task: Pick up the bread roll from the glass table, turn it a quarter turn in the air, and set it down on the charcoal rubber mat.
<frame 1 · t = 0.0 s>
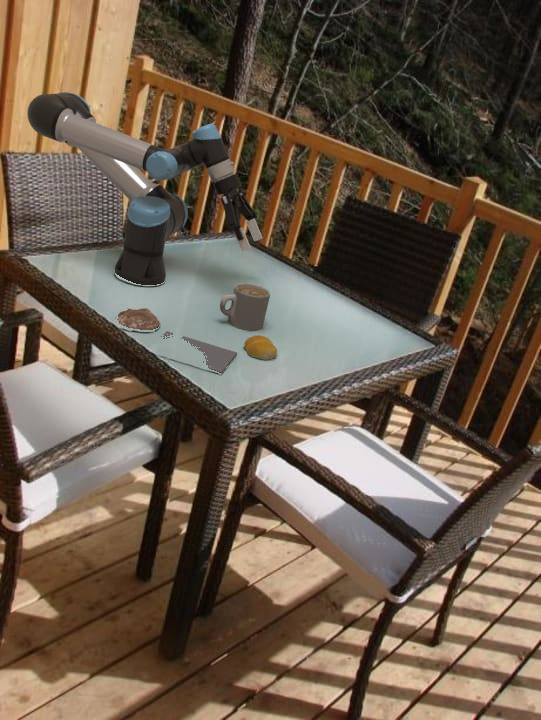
hand: (252, 244, 216), 15 cm above the table, tool tilted 35°, fingers open, 13 cm apart
coffee mug: (239, 323, 200), on the table
mat: (192, 353, 175), on the table
bread roll: (259, 353, 185), on the table
shell: (136, 325, 185), on the table
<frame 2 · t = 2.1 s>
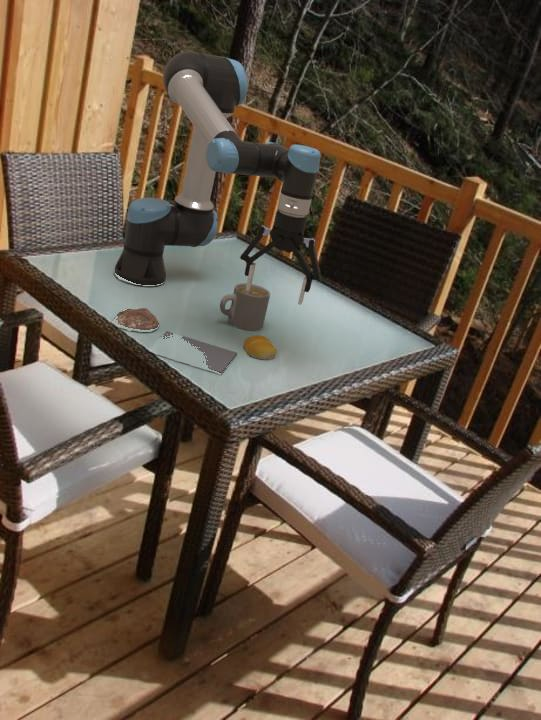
hand: (274, 295, 179), 15 cm above the table, tool pointing down, fingers open, 13 cm apart
nothing on the table moved.
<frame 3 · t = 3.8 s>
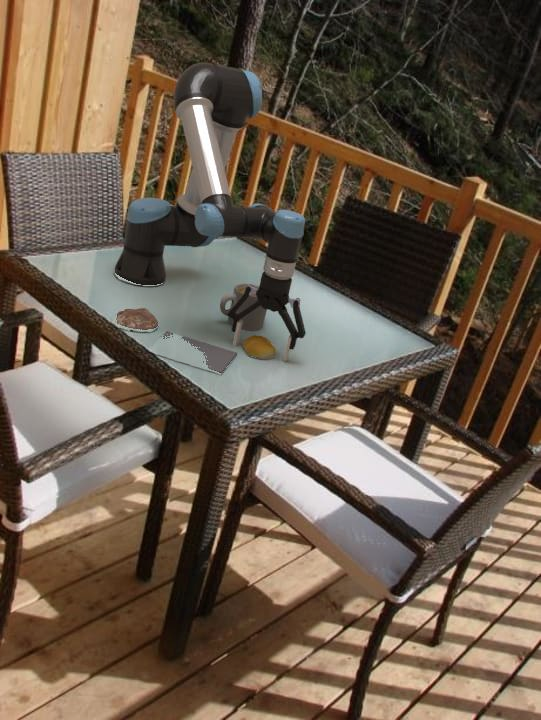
hand: (260, 351, 185), 0 cm above the table, tool pointing down, fingers open, 13 cm apart
nothing on the table moved.
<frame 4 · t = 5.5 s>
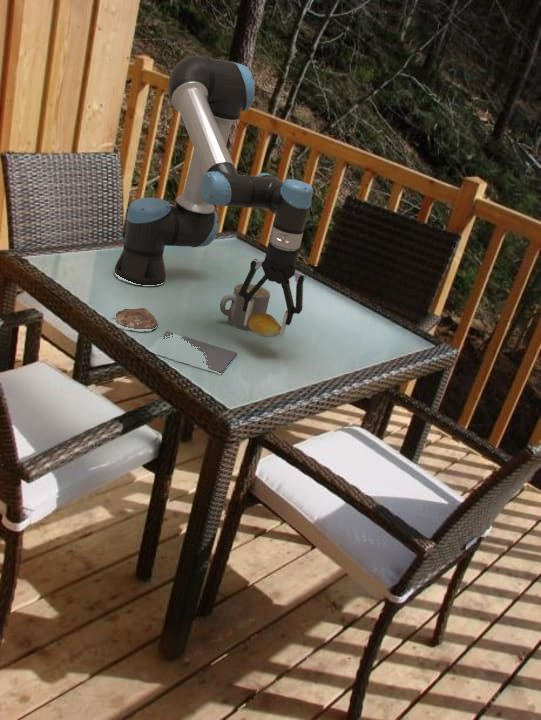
hand: (263, 329, 183), 6 cm above the table, tool pointing down, fingers closed on bread roll, 9 cm apart
bread roll: (263, 331, 183), point 6 cm above the table, touching gripper
everything else where it was.
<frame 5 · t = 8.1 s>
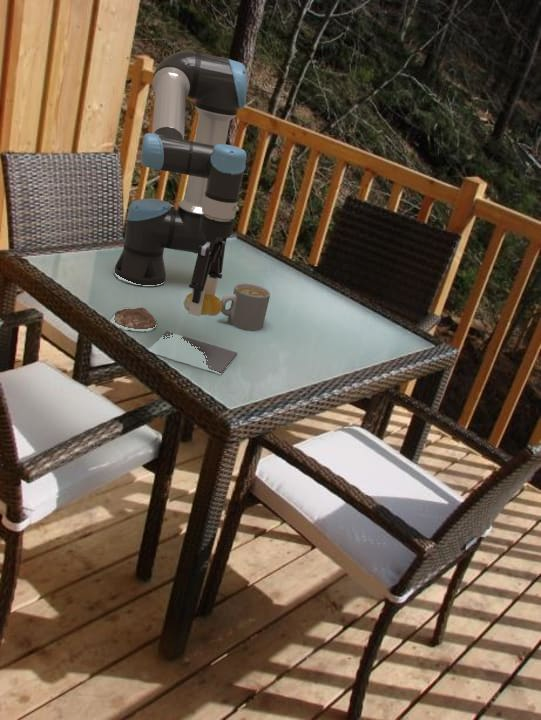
hand: (201, 308, 170), 12 cm above the table, tool pointing down, fingers closed on bread roll, 9 cm apart
bread roll: (201, 310, 171), point 12 cm above the table, touching gripper
everything else where it was.
when the fingers open (2 cm above the table, at t = 10.7 s): bread roll stays where it is, resting on mat.
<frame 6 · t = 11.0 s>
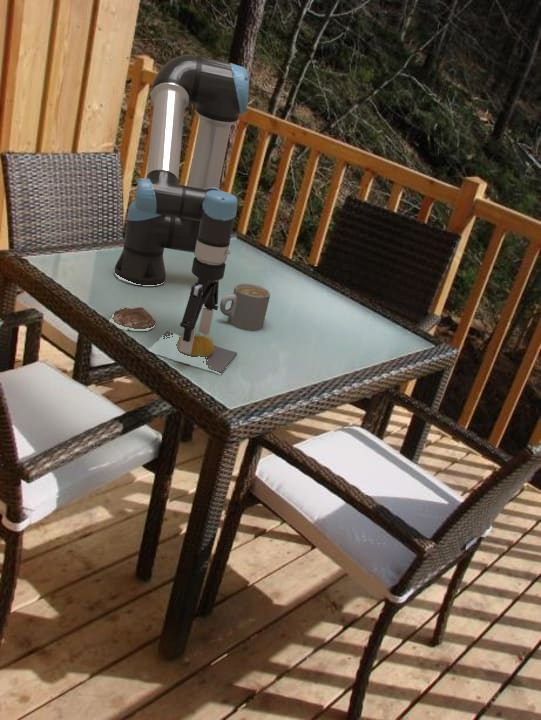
hand: (194, 342, 174), 3 cm above the table, tool pointing down, fingers open, 13 cm apart
bread roll: (193, 351, 175), point 1 cm above the table, touching mat
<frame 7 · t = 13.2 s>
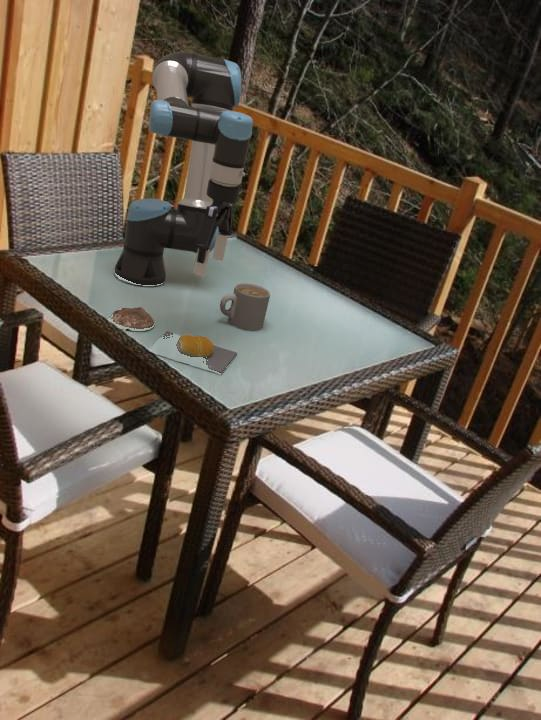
hand: (208, 266, 176), 20 cm above the table, tool pointing down, fingers open, 13 cm apart
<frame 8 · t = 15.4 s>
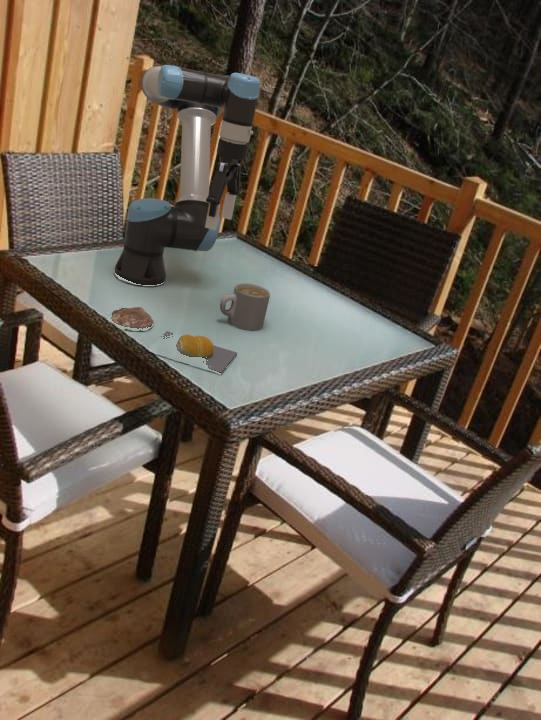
hand: (218, 223, 186), 27 cm above the table, tool pointing down, fingers open, 13 cm apart
at the end: bread roll inside the target area on the mat (0.2 cm from its centre), point 0.6 cm above the mat's base; the gripper is holding nothing; bread roll touching mat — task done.
